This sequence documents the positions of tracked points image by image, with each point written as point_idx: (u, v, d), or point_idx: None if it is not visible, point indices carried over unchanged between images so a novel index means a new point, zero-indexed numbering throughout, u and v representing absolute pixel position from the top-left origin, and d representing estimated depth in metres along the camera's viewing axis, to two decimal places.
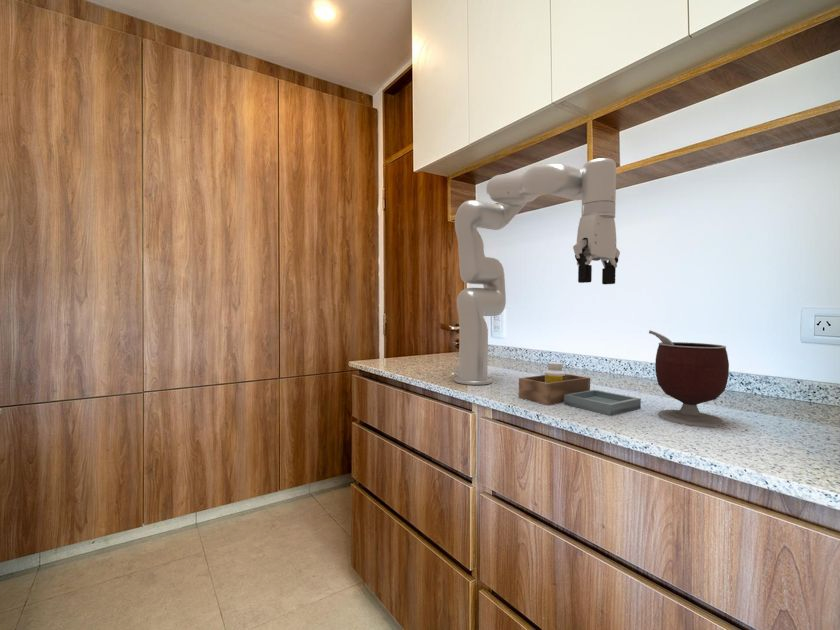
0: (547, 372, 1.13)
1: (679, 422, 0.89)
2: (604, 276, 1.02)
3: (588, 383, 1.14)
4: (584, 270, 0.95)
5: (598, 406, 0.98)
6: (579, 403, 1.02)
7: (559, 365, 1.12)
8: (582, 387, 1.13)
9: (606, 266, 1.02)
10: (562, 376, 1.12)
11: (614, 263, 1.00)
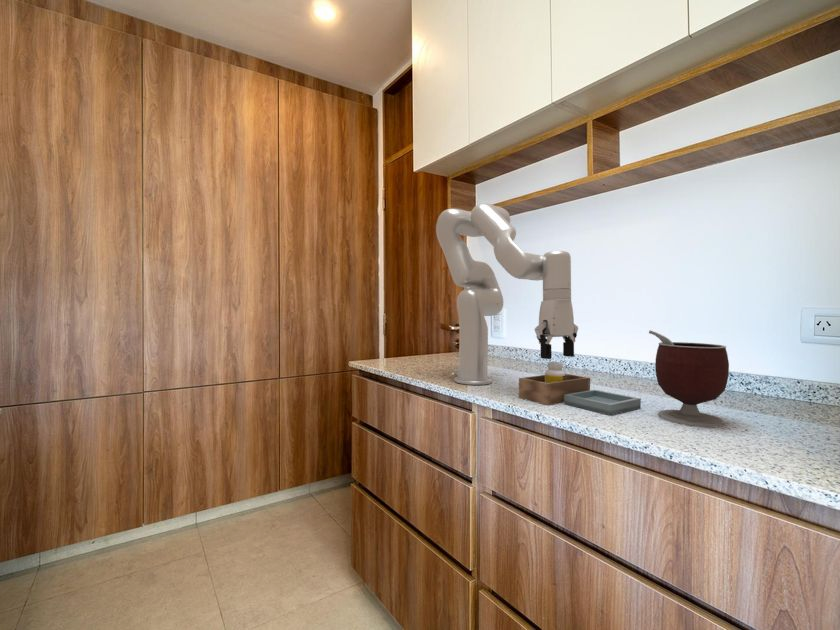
0: (547, 372, 1.13)
1: (679, 422, 0.89)
2: (565, 349, 1.16)
3: (588, 383, 1.14)
4: (545, 348, 1.10)
5: (598, 406, 0.98)
6: (579, 403, 1.02)
7: (559, 365, 1.12)
8: (582, 387, 1.13)
9: (566, 340, 1.16)
10: (562, 376, 1.12)
11: (572, 338, 1.15)
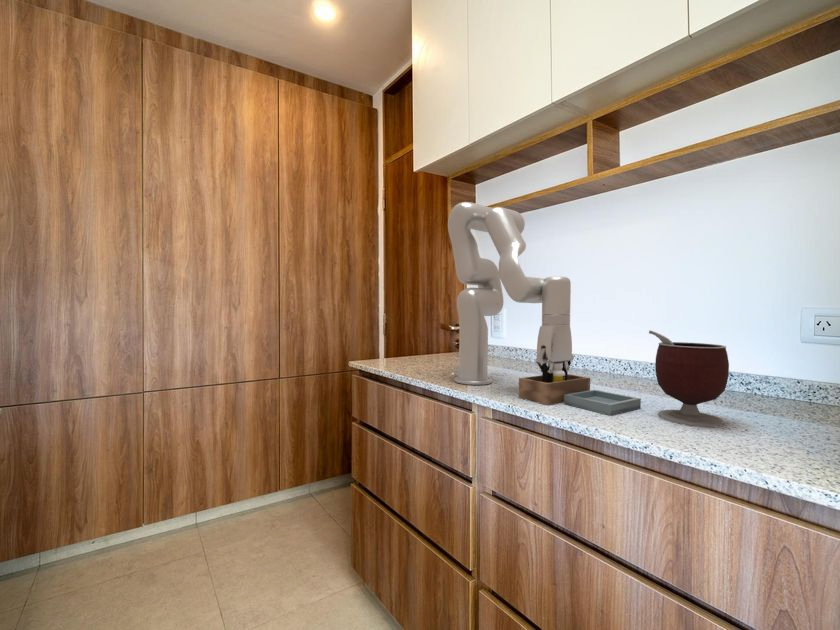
0: None
1: (679, 422, 0.89)
2: None
3: (588, 383, 1.14)
4: (546, 377, 1.11)
5: (598, 406, 0.98)
6: (579, 403, 1.02)
7: (559, 365, 1.12)
8: (582, 387, 1.13)
9: None
10: (562, 376, 1.12)
11: (566, 367, 1.15)
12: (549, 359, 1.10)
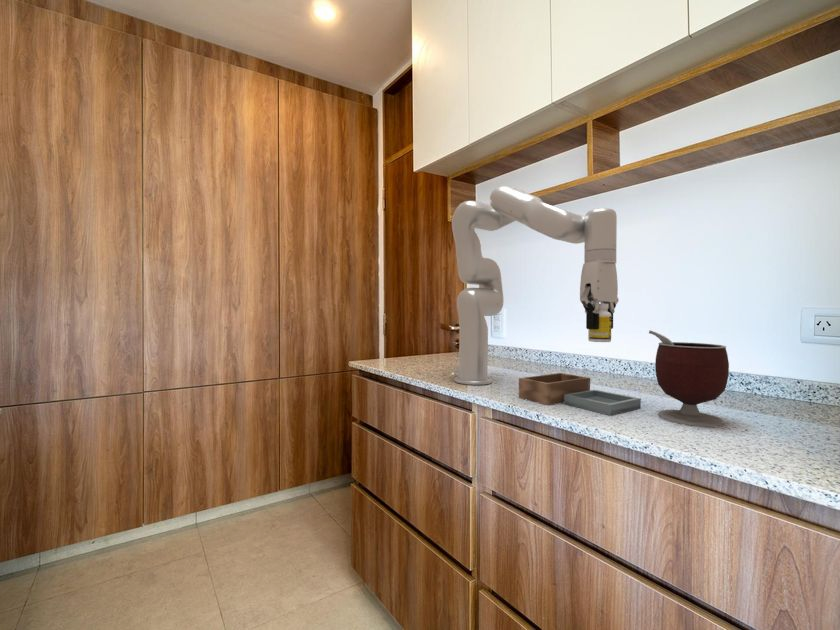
0: None
1: (679, 422, 0.89)
2: None
3: (588, 383, 1.14)
4: (592, 318, 1.02)
5: (598, 406, 0.98)
6: (579, 403, 1.02)
7: (605, 305, 1.03)
8: (582, 387, 1.13)
9: None
10: (609, 317, 1.02)
11: (612, 309, 1.05)
12: (595, 297, 1.00)
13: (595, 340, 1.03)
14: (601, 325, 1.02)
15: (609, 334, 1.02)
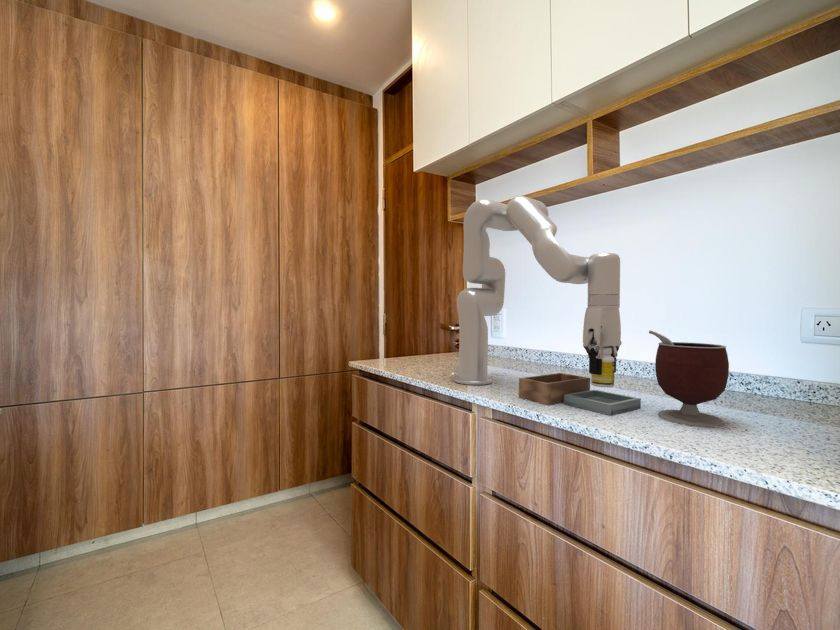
0: None
1: (679, 422, 0.89)
2: None
3: (588, 383, 1.14)
4: (595, 363, 1.01)
5: (598, 406, 0.98)
6: (579, 403, 1.02)
7: (608, 350, 1.02)
8: (582, 387, 1.13)
9: None
10: (612, 362, 1.02)
11: (615, 353, 1.05)
12: (598, 343, 1.00)
13: (598, 385, 1.02)
14: (604, 371, 1.01)
15: (612, 379, 1.02)
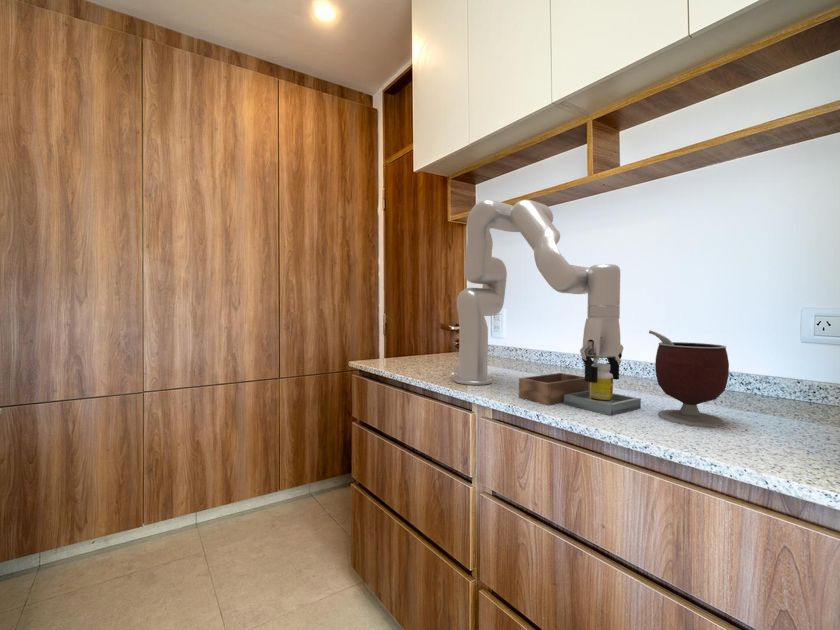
0: None
1: (679, 422, 0.89)
2: None
3: (588, 383, 1.14)
4: (590, 371, 1.01)
5: (598, 406, 0.98)
6: (579, 403, 1.02)
7: (607, 366, 1.02)
8: (582, 387, 1.13)
9: (610, 361, 1.07)
10: (610, 379, 1.02)
11: (618, 360, 1.06)
12: (598, 354, 1.00)
13: None
14: (602, 387, 1.02)
15: (610, 396, 1.02)
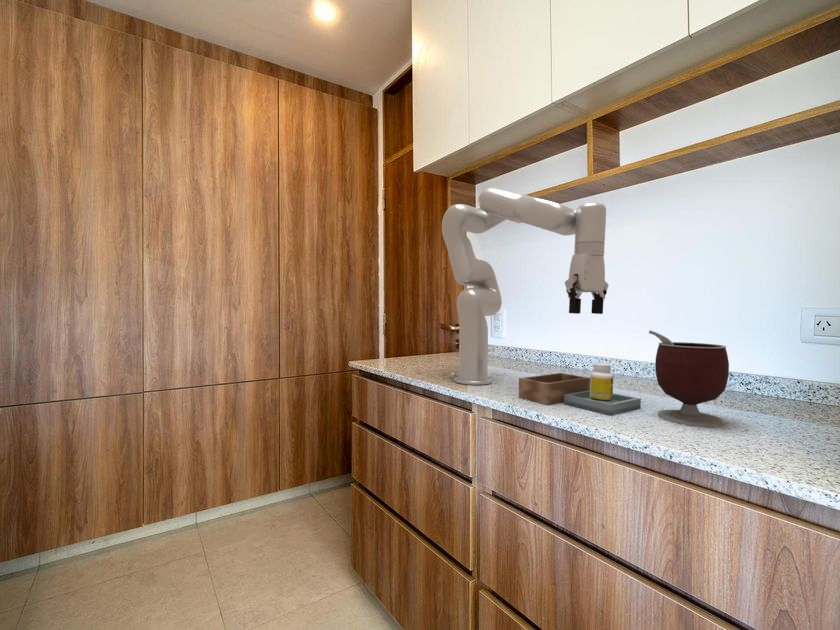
0: (593, 374, 1.04)
1: (679, 422, 0.89)
2: (593, 306, 1.14)
3: (588, 383, 1.14)
4: (574, 303, 1.07)
5: (598, 406, 0.98)
6: (579, 403, 1.02)
7: (607, 367, 1.02)
8: (582, 387, 1.13)
9: (595, 297, 1.14)
10: (610, 379, 1.02)
11: (602, 295, 1.12)
12: (582, 287, 1.07)
13: None
14: (602, 387, 1.02)
15: (610, 396, 1.02)
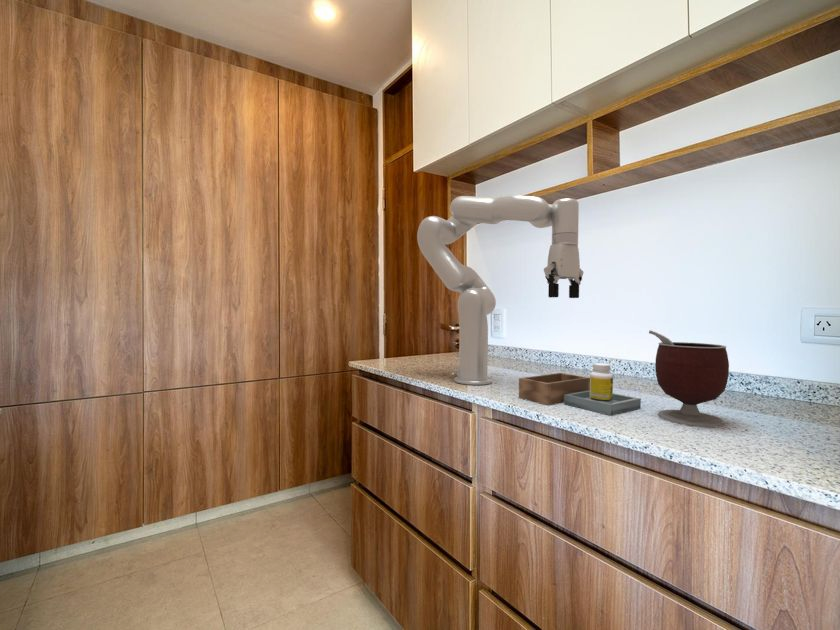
0: (593, 374, 1.04)
1: (679, 422, 0.89)
2: (570, 291, 1.26)
3: (588, 383, 1.14)
4: (552, 287, 1.19)
5: (598, 406, 0.98)
6: (579, 403, 1.02)
7: (606, 367, 1.02)
8: (582, 387, 1.13)
9: (572, 283, 1.26)
10: (610, 379, 1.02)
11: (578, 281, 1.25)
12: (559, 273, 1.19)
13: None
14: (602, 387, 1.02)
15: (610, 396, 1.02)
